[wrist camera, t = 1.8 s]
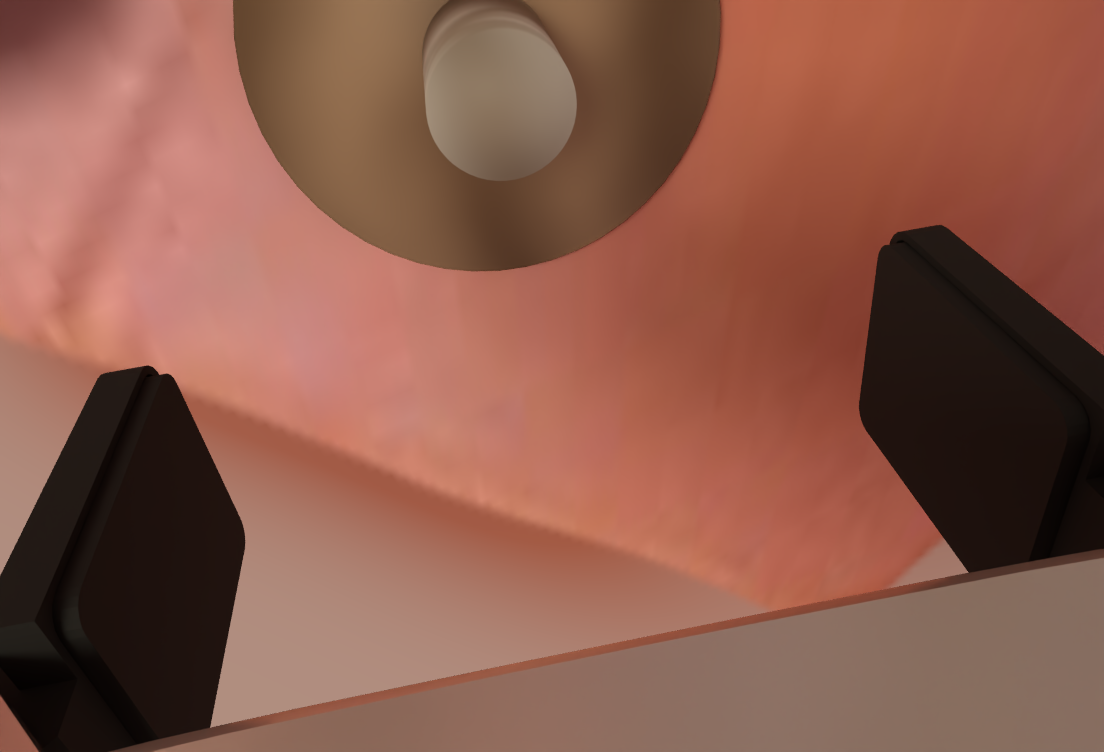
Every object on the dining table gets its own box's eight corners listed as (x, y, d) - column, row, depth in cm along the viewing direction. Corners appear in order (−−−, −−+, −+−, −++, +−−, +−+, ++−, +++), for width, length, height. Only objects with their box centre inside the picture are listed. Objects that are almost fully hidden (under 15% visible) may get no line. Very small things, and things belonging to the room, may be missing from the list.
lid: (701, -285, 23) (782, -300, 18) (717, 214, 32) (774, 294, 27) (154, -185, 23) (86, -174, 18) (325, 293, 31) (311, 388, 27)
